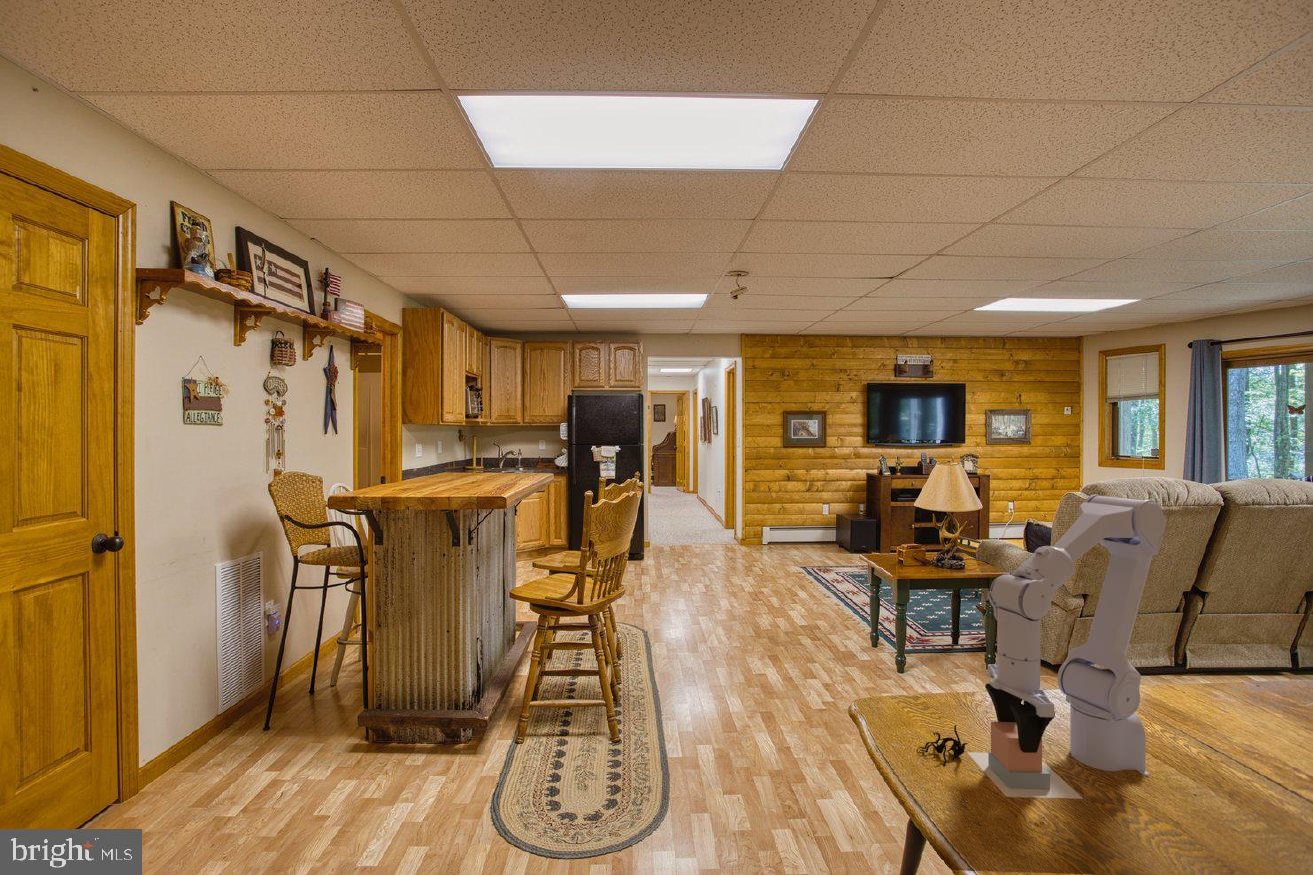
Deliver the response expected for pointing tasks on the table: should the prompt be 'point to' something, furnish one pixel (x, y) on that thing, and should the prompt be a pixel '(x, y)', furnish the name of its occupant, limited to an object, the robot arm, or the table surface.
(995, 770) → the base brick
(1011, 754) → the top brick
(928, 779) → the table surface
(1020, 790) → the board
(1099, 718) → the robot arm
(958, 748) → the creature
